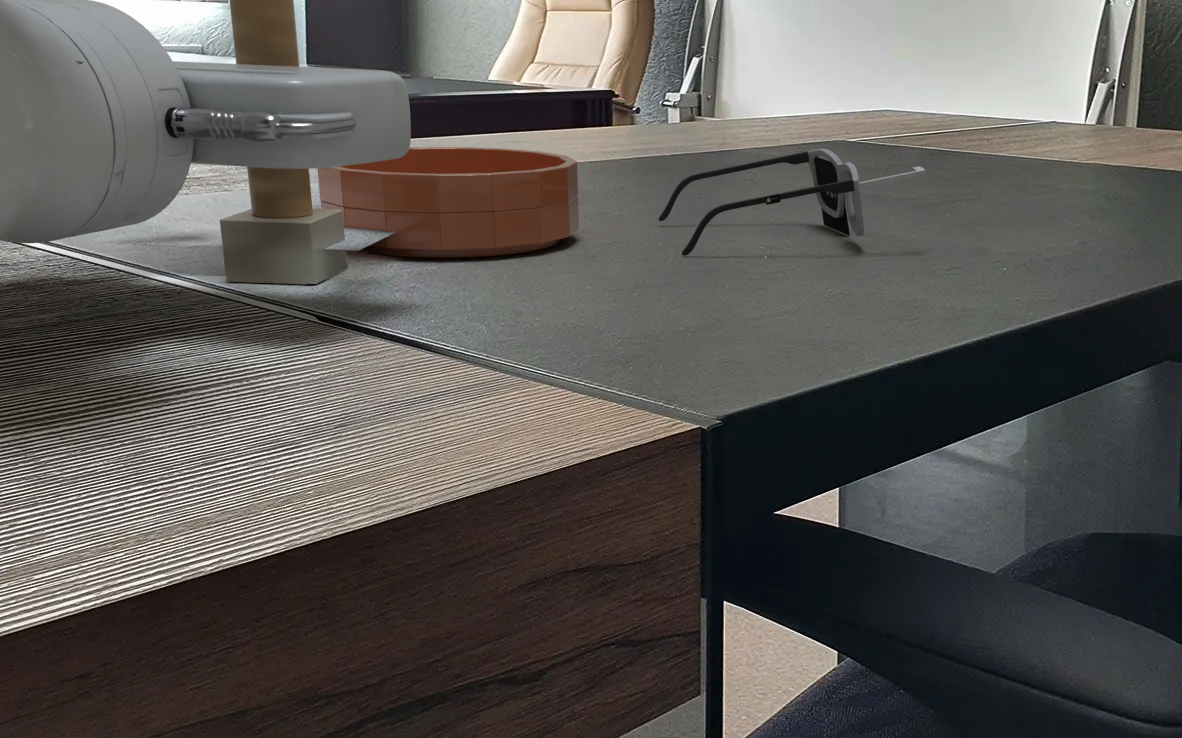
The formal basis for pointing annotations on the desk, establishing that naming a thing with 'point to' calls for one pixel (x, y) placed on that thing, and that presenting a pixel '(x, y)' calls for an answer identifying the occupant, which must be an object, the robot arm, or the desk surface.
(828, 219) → the smart glasses
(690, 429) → the desk surface
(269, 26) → the brush
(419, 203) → the bowl
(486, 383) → the desk surface
